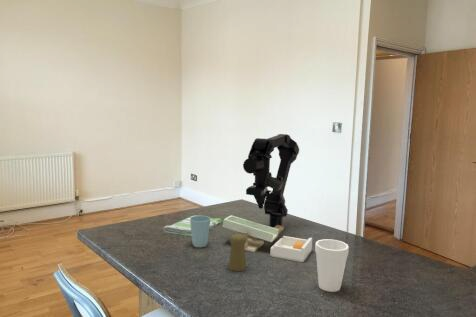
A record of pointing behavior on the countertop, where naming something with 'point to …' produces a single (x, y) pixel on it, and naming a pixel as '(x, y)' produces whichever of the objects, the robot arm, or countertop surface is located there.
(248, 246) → the lever stand
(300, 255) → the bin
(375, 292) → the countertop surface
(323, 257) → the foam cup
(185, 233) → the dish towel
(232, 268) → the olive knobbed post
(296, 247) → the ball
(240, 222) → the lever
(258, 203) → the robot arm
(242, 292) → the countertop surface
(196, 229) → the cup
